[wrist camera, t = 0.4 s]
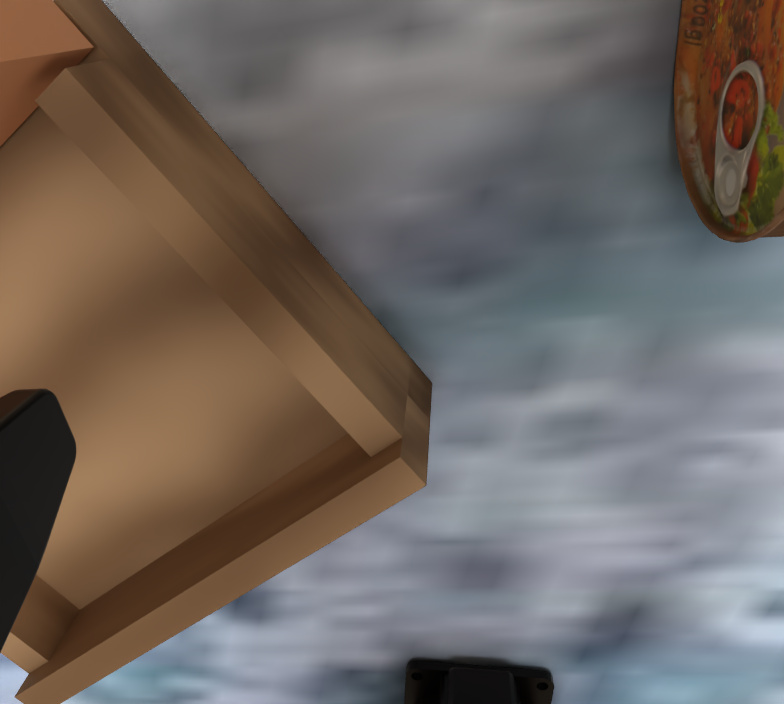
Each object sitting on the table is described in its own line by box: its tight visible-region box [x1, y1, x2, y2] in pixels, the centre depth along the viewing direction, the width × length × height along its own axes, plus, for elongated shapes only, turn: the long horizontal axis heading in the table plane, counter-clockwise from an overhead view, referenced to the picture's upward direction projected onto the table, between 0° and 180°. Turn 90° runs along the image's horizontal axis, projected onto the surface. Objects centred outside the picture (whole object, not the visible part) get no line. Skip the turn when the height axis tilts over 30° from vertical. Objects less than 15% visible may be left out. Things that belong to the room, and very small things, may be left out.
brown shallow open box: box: [0, 0, 432, 704], centre depth 24 cm, size 16×18×6 cm
